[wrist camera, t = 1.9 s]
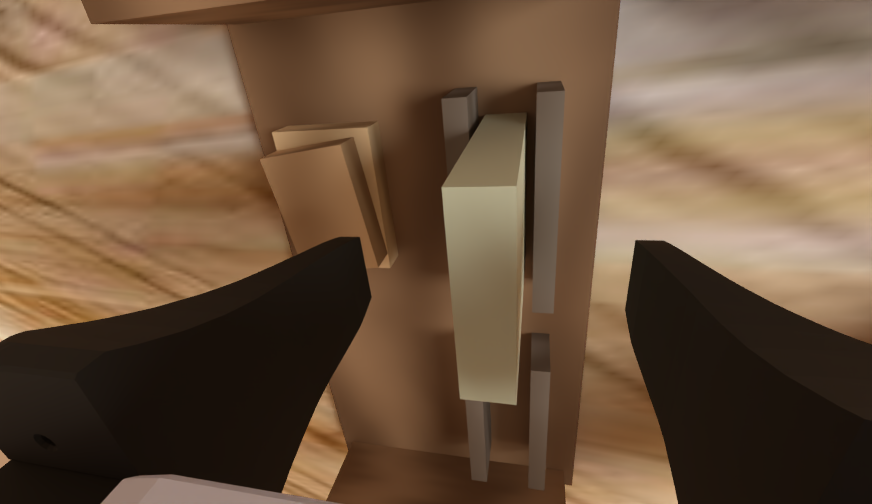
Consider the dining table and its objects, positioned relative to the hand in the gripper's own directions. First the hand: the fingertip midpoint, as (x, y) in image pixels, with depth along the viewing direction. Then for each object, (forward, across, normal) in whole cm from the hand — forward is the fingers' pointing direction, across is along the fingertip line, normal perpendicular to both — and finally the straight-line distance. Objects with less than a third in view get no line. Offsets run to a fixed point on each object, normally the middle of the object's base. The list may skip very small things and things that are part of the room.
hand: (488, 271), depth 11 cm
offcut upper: (+5, +7, 0) cm, 9 cm away
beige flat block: (+6, 0, 0) cm, 6 cm away
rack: (+7, +3, +5) cm, 10 cm away
